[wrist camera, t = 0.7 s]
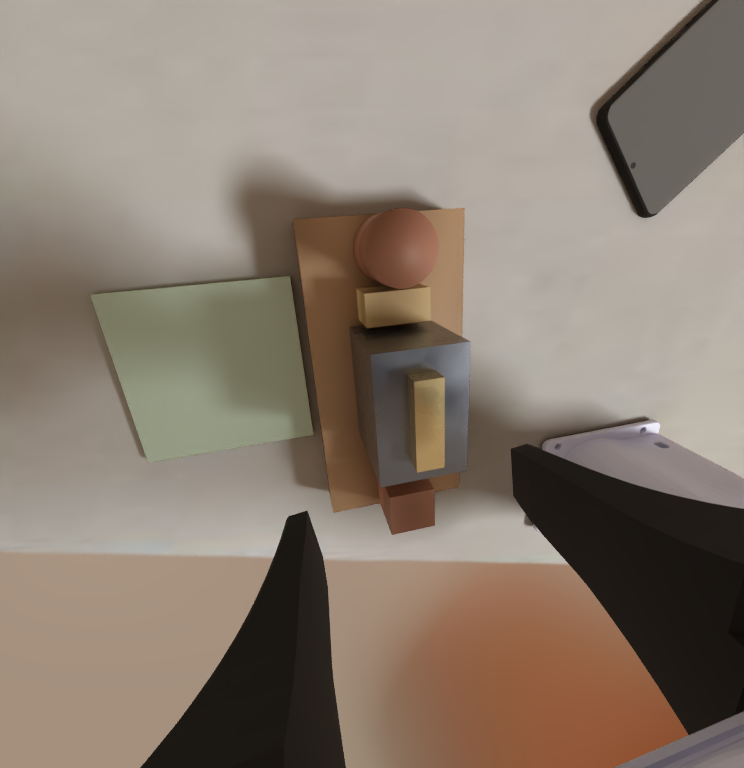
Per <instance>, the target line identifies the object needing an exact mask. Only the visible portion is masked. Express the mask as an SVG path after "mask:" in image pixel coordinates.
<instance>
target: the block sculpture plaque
mask: <svg viewBox="0 0 744 768" xmlns="http://www.w3.org/2000/svg"><path fill="white" fill-rule="evenodd" d="M464 211H465V208H454V209H439V210H424V211H416V210H413V209H409V208H398V209H394V210H390V211H387V212H383V213H380V214H365V215H350V216H335V217H320V218H305V219H293V221H292V222H293V229H294V236H295V243H296V251H297V258H298V265H299V272H300V280H301V287H302V294H303V301H304V309H305V316H306V323H307V330H308V338H309V345H310V352H311V359H312V366H313V374H314V381H315V388H316V395H317V403H318V410H319V417H320V424H321V432H322V439H323V446H324V453H325V461H326V468H327V475H328V482H329V489H330V496H331V501H332V507H333V512H339V511H344V510H349V509H354V508H358V507H363V506H368V505H373V504H378V503H381V506H382V509H383V512H384V514H385V517H386V520H387V523H388V525H389V528H390V531H391V534H392V535H394V534H398V533H403V532H407V531H412V530H416V529H421V528H425V527H430V526H434V525H435V506H434V492H436V491H441V490H446V489H451V488H456V487H459V475H460V472H457V473H452V474H447V475H442V476H437V477H432V478H427V479H422V480H417V481H412V482H407V483H402V484H397V485H392V486H386V487H380V485H379V482H378V480H377V477H376V474H375V472H374V469H373V467H372V464H371V462H370V459H369V456H368V454H367V451H366V449H365V446H364V444H363V441H362V438H361V436H360V433H359V423H358V412H357V402H356V391H355V381H354V370H353V360H352V349H351V339H350V328H349V327H352V326H360V325H364V326H365V327H366V328H373V327H382V326H390V325H398V324H406V323H415V322H423V321H431V320H432V321H433V322H435V323H437V324H439V325H441V326H443V327H444V328H446V329H448V330H450V331H452V332H454V333H456V334H457V335H459V336H461V337H462V317H463V264H464Z"/></svg>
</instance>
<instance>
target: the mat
mask: <svg viewBox="0 0 744 768" xmlns="http://www.w3.org/2000/svg"><path fill="white" fill-rule="evenodd" d="M90 297H91V300H92V303H93V306H94V308H95V311H96V314H97V317H98V320H99V323H100V326H101V329H102V332H103V334H104V337H105V340H106V343H107V346H108V349H109V352H110V355H111V357H112V360H113V363H114V366H115V369H116V372H117V375H118V378H119V381H120V383H121V386H122V389H123V392H124V395H125V398H126V401H127V404H128V406H129V409H130V412H131V415H132V418H133V421H134V424H135V427H136V430H137V432H138V435H139V438H140V441H141V444H142V447H143V450H144V453H145V455H146V458H147V461H148V463H149V462H155V461H161V460H167V459H173V458H179V457H185V456H191V455H197V454H203V453H209V452H215V451H221V450H227V449H233V448H239V447H245V446H251V445H257V444H263V443H269V442H275V441H281V440H287V439H293V438H299V437H304V436H310V435H313V429H312V422H311V415H310V408H309V402H308V395H307V388H306V381H305V375H304V368H303V361H302V354H301V348H300V341H299V334H298V327H297V320H296V314H295V307H294V300H293V293H292V287H291V280H290V276H283V277H272V278H261V279H250V280H240V281H229V282H218V283H207V284H197V285H186V286H175V287H164V288H154V289H143V290H132V291H121V292H111V293H100V294H92V295H90Z"/></svg>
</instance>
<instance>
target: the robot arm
mask: <svg viewBox="0 0 744 768" xmlns="http://www.w3.org/2000/svg"><path fill="white" fill-rule="evenodd" d="M659 429H660V423H659V422H657V421H655V420H648V421H643V422H638V423H633V424H627V425H622V426H617V427H612V428H606V429H601V430H596V431H591V432H585V433H580V434H575V435H570V436H564V437H559V438H554V439H549V440H546V441H545V442H544V443H543V445H542V449H539V448H537V447H534V446H531V445H528V444H525V445H522V446H519V447H515V448H512V449H511V461H512V479H513V496H514V497H515V499H516V500H517V502H518V503H519V505H520V506H521V508H522V509H523V511H524V512H525V513H526V515H527V516H528V518H529V519H530V520H531V522H532V523H533V527H534V529H535V530H536V531H538V532H541V533H542V534H543V535H544V537H545V538H546V539H547V540H548V541H549V542H550V543H551V544H552V546H553V547H554V548H555V549H556V550H557V551H558V552H559V553H560V555H561V556H562V557H563V558H564V559H565V560H566V561H567V562H568V564H569V565H570V566H571V567H572V568H573V569H574V570H575V571H576V572H577V574H578V575H579V576H580V577H581V578H582V580H583V581H584V582H585V583H586V584H587V586H588V587H589V588H590V590H591V591H592V592H593V594H594V595H595V596H596V598H597V599H598V600H599V601H600V603H601V604H602V605H603V607H604V608H605V610H606V611H607V612H608V614H609V615H610V617H611V618H612V619H613V621H614V622H615V624H616V625H617V626H618V628H619V629H620V631H621V632H622V634H623V635H624V636H625V638H626V639H627V640H628V642H629V644H630V645H631V646H632V648H633V649H634V651H635V652H636V654H637V655H638V657H639V658H640V660H641V661H642V663H643V664H644V666H645V667H646V669H647V670H648V672H649V673H650V674H651V676H652V678H653V679H654V681H655V682H656V684H657V685H658V687H659V688H660V690H661V691H662V693H663V695H664V696H665V698H666V699H667V701H668V703H669V704H670V706H671V707H672V709H673V710H674V712H675V714H676V715H677V717H678V718H679V720H680V722H681V723H682V725H683V726H684V728H685V729H686V731H687V733H688V734H689V735H688V736H686V737H684V738H681V739H679V740H677V741H674V742H672V743H670V744H668V745H665V746H663V747H661V748H658V749H656V750H654V751H652V752H649V753H647V754H645V755H642V756H640V757H638V758H636V759H633V760H631V761H629V762H626V763H624V764H622V765H619V766H617V767H615V768H744V479H743V478H742V477H740V476H738V475H737V474H735V473H733V472H731V471H729V470H727V469H725V468H723V467H721V466H719V465H717V464H715V463H714V462H712V461H710V460H708V459H706V458H704V457H702V456H700V455H698V454H696V453H694V452H692V451H690V450H688V449H686V448H685V447H683V446H681V445H679V444H677V443H675V442H673V441H671V440H669V439H667V438H665V437H663V436H661V435H659V434H658V433H659ZM556 444H557V446H556V447H555V445H556ZM329 620H330V619H329V602H328V586H327V580H326V573H325V568H324V561H323V556H322V553H321V550H320V547H319V544H318V541H317V538H316V535H315V532H314V529H313V526H312V523H311V520H310V517H309V514H308V511H305V512H301V513H298V514H295V515H291V516H289V517H288V518H287V520H286V523H285V527H284V530H283V533H282V536H281V539H280V542H279V545H278V548H277V550H276V553H275V556H274V558H273V561H272V563H271V566H270V569H269V571H268V573H267V576H266V578H265V580H264V583H263V584H262V587H261V589H260V591H259V593H258V595H257V598H256V600H255V602H254V604H253V606H252V608H251V610H250V612H249V614H248V616H247V617H246V619H245V621H244V623H243V625H242V627H241V628H240V630H239V632H238V634H237V635H236V637H235V639H234V641H233V642H232V644H231V645H230V647H229V649H228V650H227V652H226V654H225V655H224V657H223V659H222V660H221V662H220V663H219V665H218V666H217V668H216V670H215V671H214V672H213V674H212V675H211V677H210V678H209V680H208V681H207V683H206V684H205V685H204V687H203V688H202V690H201V691H200V692H199V694H198V695H197V697H196V698H195V700H194V701H193V702H192V704H191V705H190V706H189V708H188V709H187V711H186V712H185V713H184V715H183V716H182V717H181V719H180V720H179V721H178V723H177V724H176V725H175V726H174V728H173V729H172V730H171V731H170V732H169V734H168V735H167V736H166V737H165V738H164V740H163V741H162V742H161V743H160V745H159V746H158V747H157V748H156V750H155V751H154V752H153V753H152V755H151V756H150V757H149V758H148V759H147V761H146V762H145V763H144V764H143V765H142V766H141V768H346V766H345V759H344V753H343V746H342V739H341V732H340V725H339V718H338V711H337V704H336V696H335V689H334V682H333V671H332V660H331V659H332V658H331V640H330V621H329Z"/></svg>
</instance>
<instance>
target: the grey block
mask: <svg viewBox="0 0 744 768" xmlns="http://www.w3.org/2000/svg"><path fill="white" fill-rule="evenodd" d="M349 328H350V339H351V349H352V360H353V370H354V381H355V391H356V402H357V412H358V423H359V433H360V436H361V438H362V441H363V444H364V446H365V449H366V451H367V454H368V456H369V459H370V462H371V464H372V467H373V469H374V472H375V474H376V477H377V480H378V482H379V485H380V487H386V486H392V485H397V484H402V483H407V482H412V481H417V480H422V479H427V478H432V477H437V476H442V475H447V474H452V473H457V472H462V471H467V448H468V412H469V375H470V341H468V340H467V339H465V338H463V337H461V336H459V335H457V334H456V333H454V332H452V331H450V330H448V329H446V328H444V327H443V326H441V325H439V324H437V323H435V322H433V321H432V320H431V321H423V322H415V323H406V324H398V325H390V326H382V327H373V328H366V327H365V326H364V325H360V326H352V327H349Z"/></svg>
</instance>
